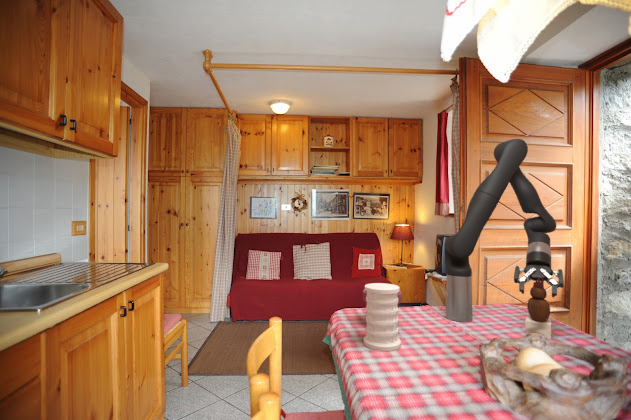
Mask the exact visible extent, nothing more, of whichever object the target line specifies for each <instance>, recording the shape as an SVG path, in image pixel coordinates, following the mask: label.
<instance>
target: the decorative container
mask: <svg viewBox="0 0 631 420" xmlns="http://www.w3.org/2000/svg"><path fill="white" fill-rule="evenodd" d="M364 289H365V291H367V296H366V301H367V306H366V305H365V312H366V315H365V321H366V325H365V332H366V335H365V336H363V345H364V346H366V348H368V349H370V350H374V351H377V352H378V351H379V352H391V351H392V352H394V351H397V350H399V349H401V347H402V340H401V339H400V338H399V337H398V335H399V332H400V331H399V328H398V324H399V318H398V315H399V312H400V311H399V308H398V307H397V304H398V297H397V293H399V292H400V291H401V289H400V286H399V285H397V284H394V283H393V284H392V283H386V282H385V283H384V282H373V283H366V284H365V285H364Z"/></svg>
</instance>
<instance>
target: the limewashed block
mask: <svg viewBox="0 0 631 420" xmlns="http://www.w3.org/2000/svg"><path fill="white" fill-rule="evenodd" d="M524 326H525V335H526V334H527V333H538V334H541V335H542V336H544V337H546V338H547V339H551V340H552V336H551V335H552V320H551V319H548V320H547V321H545V322H538V321H535V320H533V319H532V318H531V317H530V316H526V318H525V325H524ZM547 339H546V340H547Z"/></svg>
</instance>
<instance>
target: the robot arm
mask: <svg viewBox="0 0 631 420" xmlns="http://www.w3.org/2000/svg"><path fill="white" fill-rule="evenodd" d="M528 151H529V148H528V144H527V142H526V141H525V140H524V139H520V138H513V139H509V140H506V141H503V142H500V143H498V144H497V145H496V146H495V147H494V150H493V158H494V159H495V161H496V165H495V167H494V168H493V170H492V171H491V172H490V173H489V174H488V175H487V176H486V177H485V179H484V180H483V181H482V182H481V183H480V184H479V185H478V187H477V188H476V189H475V191H474V193H473V195H472V197H471V199H470V201H469V204H468V206H467V210H466V214H465V218H464V220H463V222H462V225H461V227H460V228H459V229H458V231H457V232H456V234H451V235H449V236H448V237H447V238H446V240H445V243H444V264H445V265H444V266H445V270H446V271H445V272H446V293H445V295H444V296H445V298H444V299H445V300H444V301H445V309H444V310H445V313H444V315H445V319H448V320H451V321H455V322H461V323H462V322H463V323H464V322H465V323H467V322H472V321H473V276H472V275H473V271H472V267H471V265H470V264H471V263H470V256H471V255H472V254H473V252H474V250H475V248H476V246H477V243H478V241H479V238H480V236H481V235H482V232H483V229H484V228H485V227H486V224H487V223H488V222H489V220H490V218H491V216H492V214H493V213H494V211H495V209H496V208H497V206H498V203H499V202H500V201H501V198H502V196H503V194H504V193H505V191H506V189H507V187H508V185H509V184H510V186H511V188H512V189H513V192H514V194H515V196H516V199H517V200H518V204H519V205H520V208H521V210H522V212H523V213H524V214H535V215H537V216H533V217H529V218H526V219H525V220H524V222H523V228H524V230H525V232H526V237H527V248H526V256H525V257H526V258H525V266H524V267H523V268H522V267H520V266H518V265H516V266H515V268H514V274H513V281H514V283H515V284H519V287H518V289H519V290H518V291H519V292H520V293H521V295H525V285H526V284H527V283H529V282H531V281H534V282H536V280H537V282H538V278H539V279H540V282H541V279H542V277H543V283H545V282H546V283H547V284H548V285H550V286H551V298H556V297H557V296H558V289H559V288H561V289H563V288H564V287H565V282H564V280H565V279H564V273H563V269H562V268H561V269H560V268H559V269H557V270H553V269H552V257H553V256H552V251H551V237H550V236H549V234H548V233H552V232H555V231H556V228H557V222H556V220H555V219H554V217H553V216H552V215H551V213H550V212H549V211H548V210H547V208H546V207H545V206H544V204H543V203H542V201H541V198H540V196H539V193H538V190H537V188H536V187H535V186H534V184H532V182H531V181H530V180H529V179H528V178H527V177H526V175H525V174H524V173H523V171H522V169H521V168H520V166H521V165H522V164H523V162H524V160H525V159H526V157H527V155H528ZM522 273H524V274H523V276H521V277H520V275H521V274H522ZM553 275H554V276H555V277H556V278H558V281H556V280H555V279H554V278H553Z"/></svg>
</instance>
